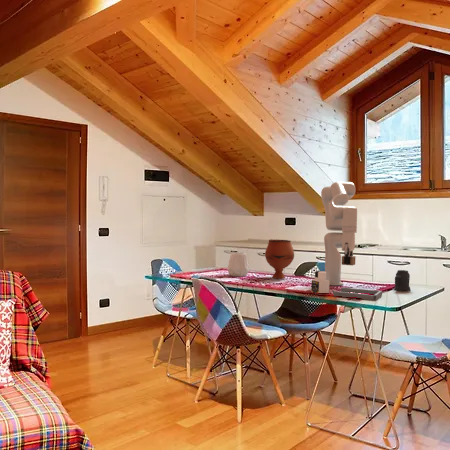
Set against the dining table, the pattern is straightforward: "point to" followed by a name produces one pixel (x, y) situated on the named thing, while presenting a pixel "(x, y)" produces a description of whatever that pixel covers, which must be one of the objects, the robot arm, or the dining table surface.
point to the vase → (238, 264)
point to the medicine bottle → (320, 283)
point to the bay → (364, 296)
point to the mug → (402, 281)
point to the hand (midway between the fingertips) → (348, 263)
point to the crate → (352, 260)
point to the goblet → (279, 256)
